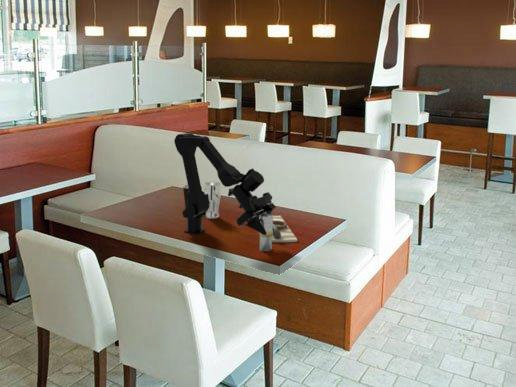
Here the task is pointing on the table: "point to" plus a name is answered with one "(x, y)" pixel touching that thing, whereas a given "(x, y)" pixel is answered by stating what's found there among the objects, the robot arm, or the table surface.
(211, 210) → the beer glass
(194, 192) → the robot arm
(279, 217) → the shaft board
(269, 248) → the metal cup
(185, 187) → the coffee mug
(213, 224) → the table surface
